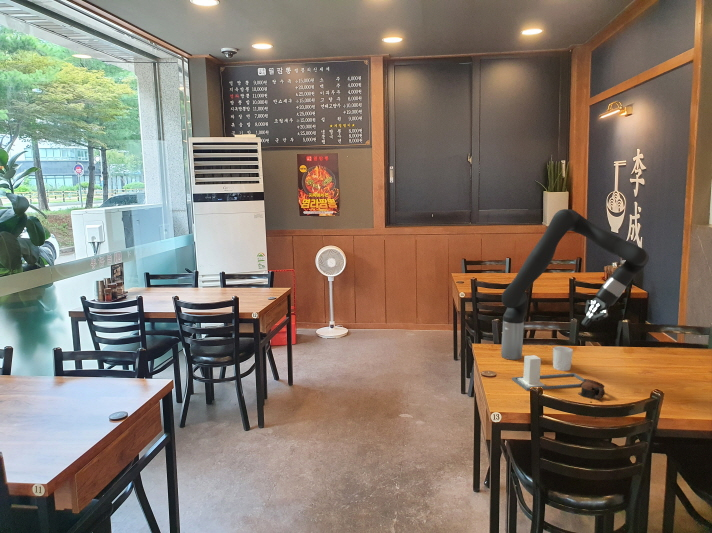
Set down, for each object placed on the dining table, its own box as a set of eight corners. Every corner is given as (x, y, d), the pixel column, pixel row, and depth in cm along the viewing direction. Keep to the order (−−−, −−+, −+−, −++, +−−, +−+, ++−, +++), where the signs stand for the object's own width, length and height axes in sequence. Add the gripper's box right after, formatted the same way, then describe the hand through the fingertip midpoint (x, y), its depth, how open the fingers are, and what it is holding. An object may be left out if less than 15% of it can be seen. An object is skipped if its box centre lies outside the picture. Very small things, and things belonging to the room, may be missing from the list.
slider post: (517, 380, 214) (518, 354, 212) (533, 379, 215) (534, 353, 214) (528, 388, 205) (530, 361, 203) (545, 387, 206) (547, 360, 205)
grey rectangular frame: (511, 383, 215) (511, 377, 215) (573, 378, 221) (574, 373, 220) (526, 394, 204) (526, 388, 203) (591, 389, 209) (592, 383, 209)
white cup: (568, 368, 233) (569, 346, 231) (573, 374, 225) (575, 352, 224) (549, 367, 234) (551, 346, 232) (554, 374, 226) (555, 351, 224)
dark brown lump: (570, 396, 203) (576, 376, 205) (590, 405, 205) (596, 385, 206) (591, 400, 191) (598, 379, 193) (612, 410, 193) (619, 389, 195)
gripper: (594, 280, 216) (568, 314, 220) (614, 293, 204) (586, 329, 208) (607, 288, 218) (581, 321, 223) (627, 302, 206) (599, 337, 210)
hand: (583, 325), depth 215 cm, fingers closed
